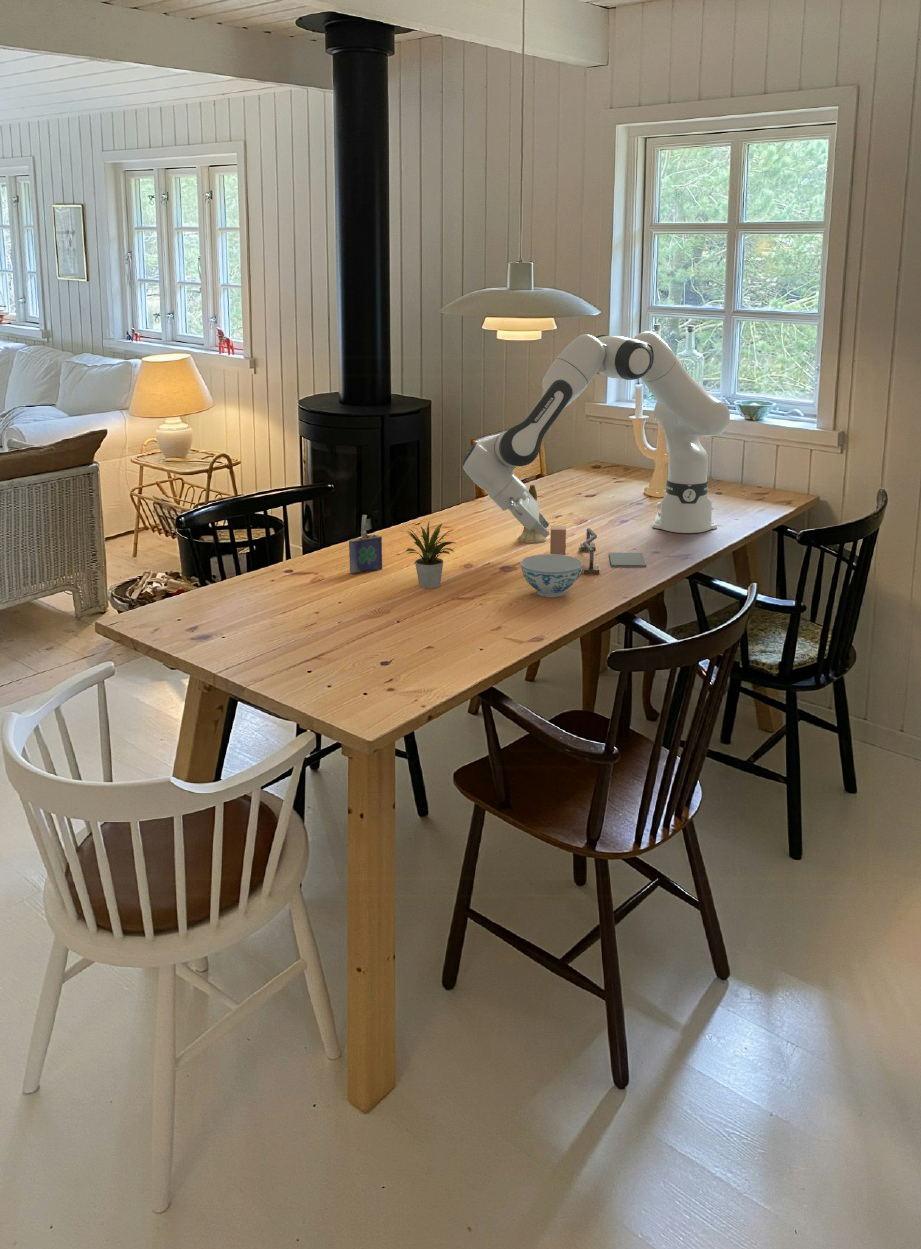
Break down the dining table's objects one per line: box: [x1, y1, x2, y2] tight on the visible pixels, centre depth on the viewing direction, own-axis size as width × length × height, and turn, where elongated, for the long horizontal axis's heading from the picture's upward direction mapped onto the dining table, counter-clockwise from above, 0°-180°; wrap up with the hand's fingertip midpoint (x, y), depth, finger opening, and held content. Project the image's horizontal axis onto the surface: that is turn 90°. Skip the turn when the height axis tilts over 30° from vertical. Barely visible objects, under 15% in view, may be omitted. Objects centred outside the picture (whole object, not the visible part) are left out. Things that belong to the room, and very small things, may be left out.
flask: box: [348, 530, 383, 575], centre depth 285 cm, size 9×3×11 cm, turn 121°
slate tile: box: [608, 551, 647, 568], centre depth 293 cm, size 12×9×1 cm
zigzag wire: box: [579, 527, 600, 575], centre depth 293 cm, size 26×4×6 cm, turn 176°
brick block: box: [549, 525, 567, 555], centre depth 293 cm, size 4×4×9 cm
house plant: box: [401, 520, 456, 589], centre depth 270 cm, size 14×14×16 cm
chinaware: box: [519, 553, 583, 598], centre depth 266 cm, size 15×15×8 cm
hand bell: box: [517, 484, 547, 545], centre depth 312 cm, size 8×8×16 cm
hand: (547, 530), depth 292 cm, fingers open, 8 cm apart
